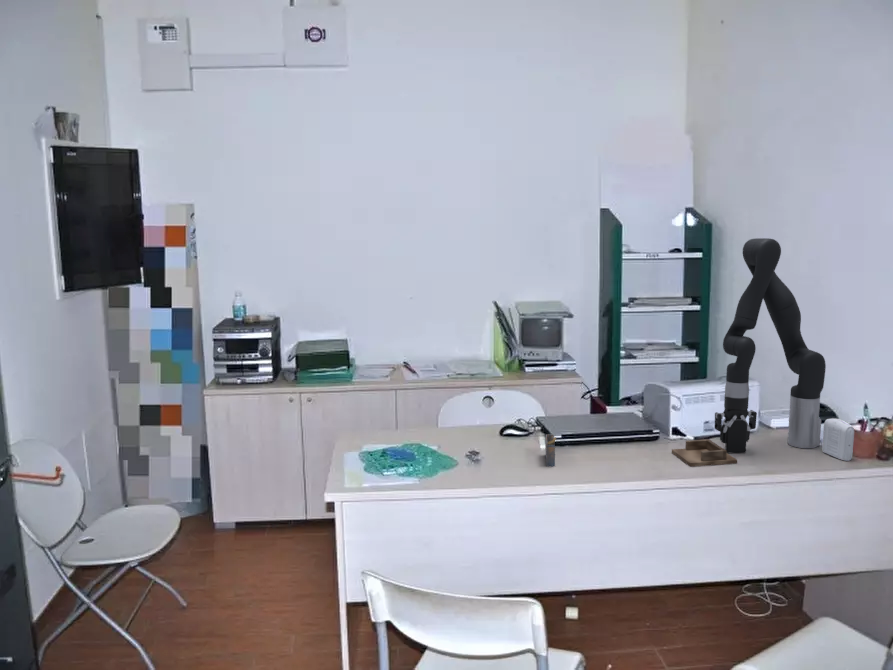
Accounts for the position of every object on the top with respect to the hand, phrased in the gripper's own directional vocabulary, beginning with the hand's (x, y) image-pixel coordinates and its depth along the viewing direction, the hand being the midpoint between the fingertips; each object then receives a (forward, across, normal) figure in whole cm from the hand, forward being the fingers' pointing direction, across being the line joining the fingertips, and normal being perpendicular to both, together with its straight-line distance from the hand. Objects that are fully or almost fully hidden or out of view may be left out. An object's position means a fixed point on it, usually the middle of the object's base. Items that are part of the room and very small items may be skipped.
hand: (734, 441), depth 260 cm
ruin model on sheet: (+4, +63, -4) cm, 63 cm away
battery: (+4, 0, 0) cm, 4 cm away
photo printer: (+4, -30, +11) cm, 32 cm away
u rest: (+3, +13, +4) cm, 14 cm away
